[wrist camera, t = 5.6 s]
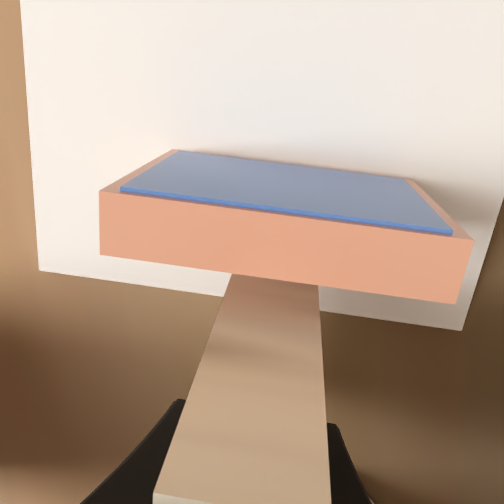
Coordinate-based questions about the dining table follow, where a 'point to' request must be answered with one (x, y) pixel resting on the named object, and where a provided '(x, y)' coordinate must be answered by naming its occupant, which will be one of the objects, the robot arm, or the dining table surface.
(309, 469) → the tall beige block
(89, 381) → the dining table surface
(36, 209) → the mat
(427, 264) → the tile
